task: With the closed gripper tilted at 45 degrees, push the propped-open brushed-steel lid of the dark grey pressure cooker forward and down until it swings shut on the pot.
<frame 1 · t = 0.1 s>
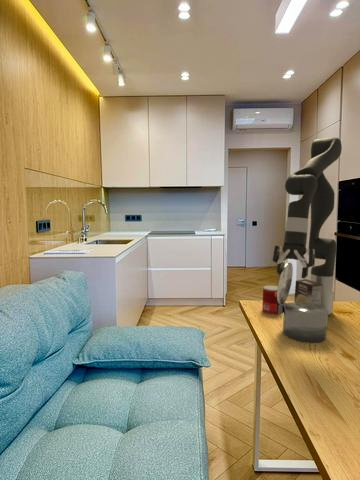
hand: (291, 276, 116), 22 cm above the table, tool pointing down, fingers open, 8 cm apart
lid: (282, 282, 124), point 18 cm above the table, hinge at 85.0°
cooker pot: (303, 334, 121), on the table
coffee box: (306, 319, 137), on the table
canned food: (271, 311, 146), on the table
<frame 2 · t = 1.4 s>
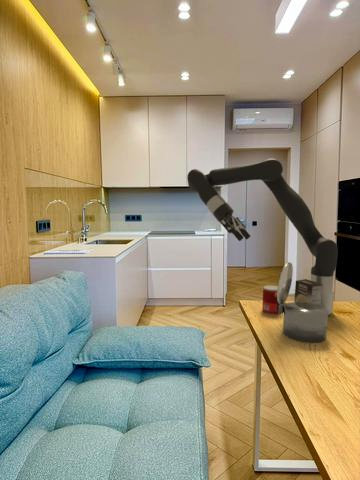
hand: (245, 238, 130), 34 cm above the table, tool tilted 45°, fingers open, 7 cm apart
nothing on the table moved.
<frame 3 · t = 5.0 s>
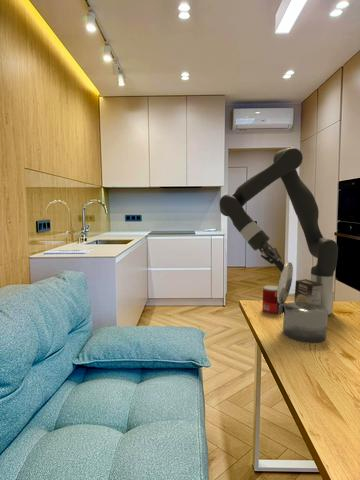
hand: (284, 270, 123), 23 cm above the table, tool tilted 45°, fingers closed
lid: (282, 282, 124), point 18 cm above the table, hinge at 84.7°, touching gripper
everything else where it was.
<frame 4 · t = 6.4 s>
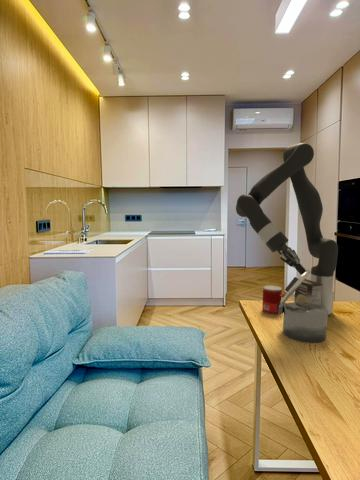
hand: (304, 273, 119), 23 cm above the table, tool tilted 45°, fingers closed
lid: (293, 285, 122), point 18 cm above the table, hinge at 57.3°, touching gripper
everything else where it was.
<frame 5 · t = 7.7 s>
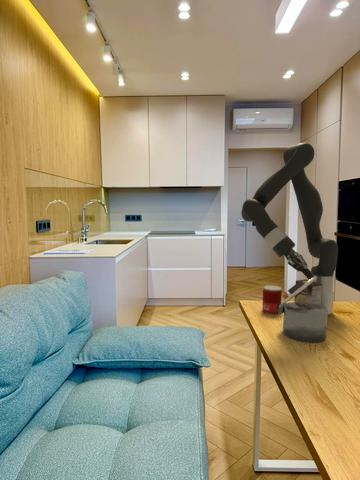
hand: (311, 278, 118), 22 cm above the table, tool tilted 45°, fingers closed
lid: (296, 288, 121), point 17 cm above the table, hinge at 45.9°, touching gripper
everything else where it was.
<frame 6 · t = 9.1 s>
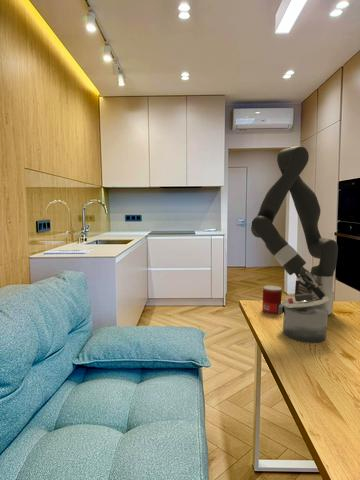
hand: (322, 297, 116), 15 cm above the table, tool tilted 45°, fingers closed
lid: (304, 298, 120), point 14 cm above the table, hinge at 14.5°, touching gripper
everything else where it was.
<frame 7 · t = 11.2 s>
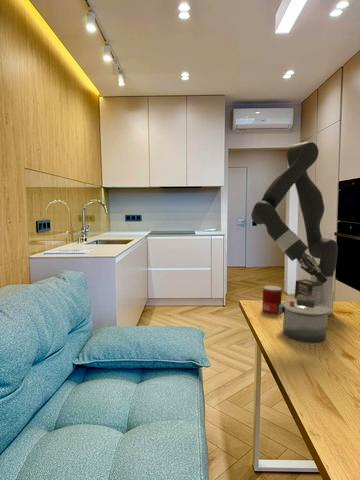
hand: (325, 281, 115), 21 cm above the table, tool tilted 45°, fingers closed
lid: (305, 303, 120), point 12 cm above the table, hinge at -0.1°
everything else where it was.
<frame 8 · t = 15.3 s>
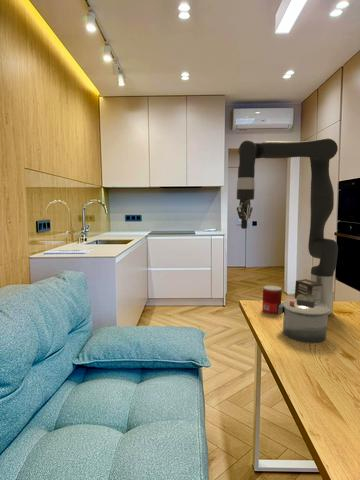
hand: (244, 228, 143), 37 cm above the table, tool pointing down, fingers closed
nothing on the table moved.
at the end: lid at +0° (first picture: +85°); canned food moved 0.2 cm from its start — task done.
